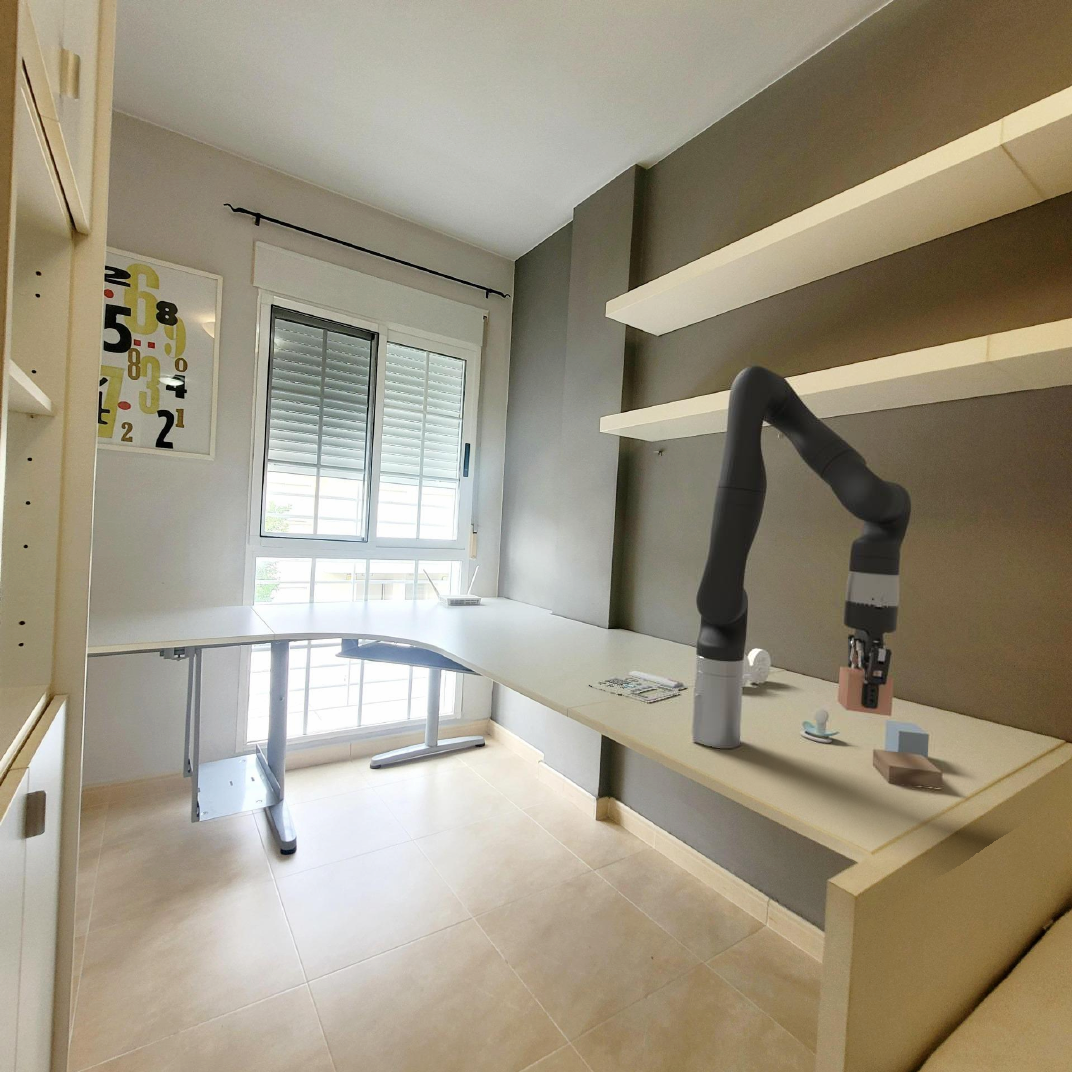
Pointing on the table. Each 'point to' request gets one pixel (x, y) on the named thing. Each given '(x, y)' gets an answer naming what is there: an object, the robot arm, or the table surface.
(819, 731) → the pacifier
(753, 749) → the table surface
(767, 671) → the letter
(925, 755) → the brick slate
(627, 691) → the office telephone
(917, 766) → the base block
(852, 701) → the brick terracotta
